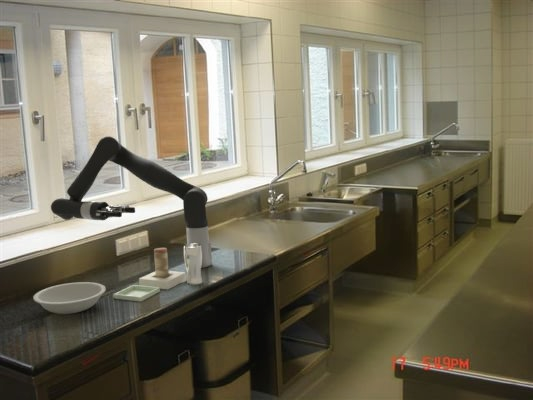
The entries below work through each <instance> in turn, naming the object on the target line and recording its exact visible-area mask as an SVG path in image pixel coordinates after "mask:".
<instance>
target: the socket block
mask: <svg viewBox="0 0 533 400" xmlns="http://www.w3.org/2000/svg"><path fill="white" fill-rule="evenodd" d="M185 282H187V271H175V270H169V277H167V278H156V272H155V271H153V272H151V273H149V274H145V275H143V276H142V277H139V278H138V283H139V284H138V285H140V286H150V287H159V288H160V290H162V289H163V290H169V289H171V288H174V287H175V286H177V285H179V284H182V283H185Z"/></svg>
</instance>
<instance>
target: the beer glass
mask: <svg viewBox="0 0 533 400" xmlns="http://www.w3.org/2000/svg"><path fill="white" fill-rule="evenodd" d="M183 261H184V266H185V269H186V284H187V285H188V284H189V286H197V285H200V284H202V283H203V279H202V274H201V273H202V268H201V265H202V251H201V245H200V244H197V243H192V244H186V243H185V245H183Z"/></svg>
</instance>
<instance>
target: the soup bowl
mask: <svg viewBox="0 0 533 400" xmlns="http://www.w3.org/2000/svg"><path fill="white" fill-rule="evenodd" d="M106 290H107V287H106V286H105V285H103V284H101V283H99V282H91V281H90V282H89V281H84V282H83V281H78V282H77V281H76V282H68V283H61V284H57V285H53V286H49V287H46V288H45V289H42V290H39V291H37V292H36V293H35V294H34V295H33V296H32V297H33V299H32V300H33V301H34V302H36V303H38V304H40V306H41V307H43V308H44V309H45V310H46V311H48V312H50V313H53V314H59V315H67V314H68V315H69V314H76V313H80V312H83V311H86V310H88V309H90V308H91V307H93V306H94V305H95V304H96V303H97V302H98V301H99V300H100V298H101V296H102V295H103V294H104V293H105V292H106Z"/></svg>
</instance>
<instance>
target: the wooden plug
mask: <svg viewBox="0 0 533 400" xmlns="http://www.w3.org/2000/svg"><path fill="white" fill-rule="evenodd" d="M153 256H154V268H155V271H154V272H156V278H167V277H169V271H170V270H169V260H168V258H169V257H168V248H167V247H157V248H154V249H153Z"/></svg>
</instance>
